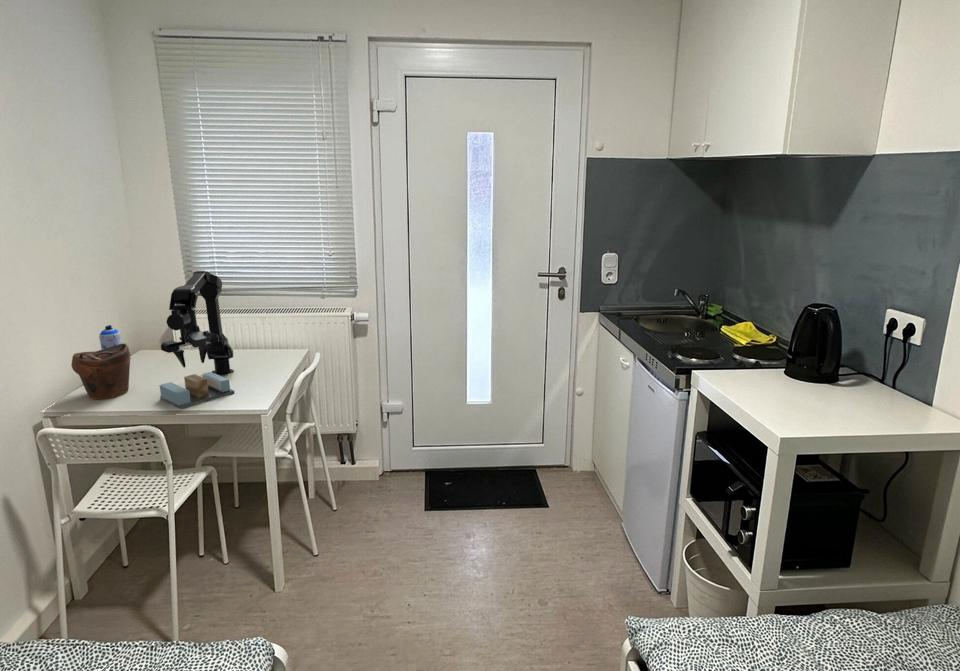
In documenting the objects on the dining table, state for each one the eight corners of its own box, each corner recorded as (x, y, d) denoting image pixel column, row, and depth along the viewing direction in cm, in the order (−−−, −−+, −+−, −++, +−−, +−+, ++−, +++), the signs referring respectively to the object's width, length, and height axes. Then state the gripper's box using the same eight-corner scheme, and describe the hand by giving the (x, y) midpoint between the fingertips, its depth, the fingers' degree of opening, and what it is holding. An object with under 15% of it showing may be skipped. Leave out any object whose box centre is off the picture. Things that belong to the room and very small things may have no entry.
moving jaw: (203, 384, 238) (201, 374, 237) (211, 382, 241) (210, 371, 240) (221, 392, 230) (220, 381, 228) (230, 390, 232) (228, 379, 231)
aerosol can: (120, 375, 253) (112, 328, 248) (101, 376, 253) (92, 328, 248) (130, 369, 261) (123, 323, 256) (112, 370, 261) (104, 323, 256)
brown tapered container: (64, 400, 226) (56, 353, 222) (109, 383, 245) (102, 339, 240) (104, 406, 222) (96, 357, 217) (147, 387, 240) (141, 342, 236)
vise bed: (160, 398, 228) (159, 396, 227) (213, 384, 242) (212, 381, 242) (180, 408, 218) (180, 406, 217) (234, 393, 232) (234, 390, 232)
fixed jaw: (161, 396, 227) (159, 385, 226) (173, 393, 230) (171, 381, 229) (179, 405, 218) (177, 393, 217) (191, 402, 221) (189, 390, 220)
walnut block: (198, 397, 226) (196, 381, 224) (186, 392, 231) (184, 376, 230) (208, 394, 229) (206, 378, 227) (196, 389, 234) (194, 374, 233)
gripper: (171, 332, 211) (178, 376, 215) (224, 321, 225) (229, 363, 229) (157, 327, 218) (163, 369, 222) (208, 317, 232) (214, 357, 236)
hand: (193, 365), depth 227 cm, fingers open, 6 cm apart
